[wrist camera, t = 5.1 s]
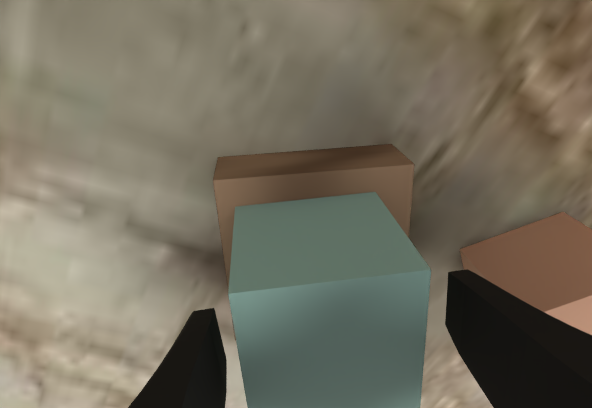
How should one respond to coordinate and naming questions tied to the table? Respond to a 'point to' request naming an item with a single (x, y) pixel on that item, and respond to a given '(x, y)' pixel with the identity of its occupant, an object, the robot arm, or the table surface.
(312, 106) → the table surface
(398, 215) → the walnut block
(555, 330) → the robot arm
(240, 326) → the teal cube
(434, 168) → the table surface
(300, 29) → the table surface
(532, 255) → the terracotta cube
